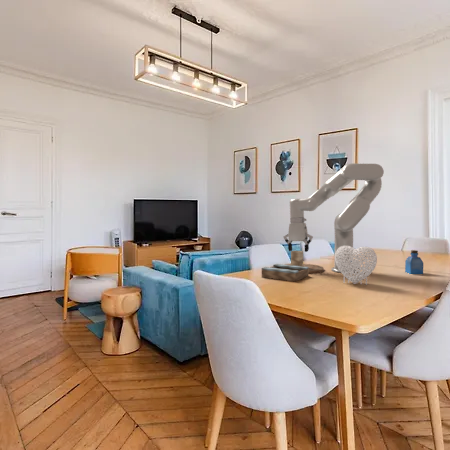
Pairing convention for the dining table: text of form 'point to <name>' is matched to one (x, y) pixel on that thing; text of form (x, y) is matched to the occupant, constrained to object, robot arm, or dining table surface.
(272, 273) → the crate
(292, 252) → the beech block
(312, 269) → the trivet
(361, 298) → the dining table surface
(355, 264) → the decorative heart
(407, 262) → the perfume bottle
